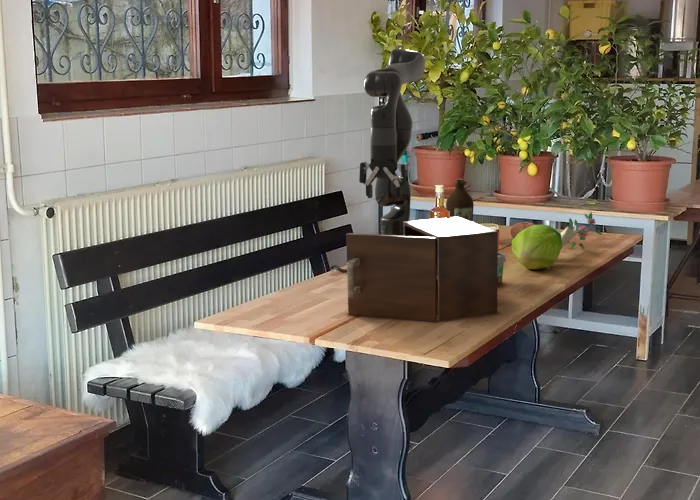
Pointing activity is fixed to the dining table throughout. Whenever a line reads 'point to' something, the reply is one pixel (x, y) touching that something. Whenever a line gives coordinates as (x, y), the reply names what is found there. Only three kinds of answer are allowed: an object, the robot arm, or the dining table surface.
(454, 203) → the olive oil
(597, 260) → the dining table surface
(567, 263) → the dining table surface
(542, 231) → the lettuce
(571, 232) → the flower vase
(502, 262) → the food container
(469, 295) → the cupboard
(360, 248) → the door
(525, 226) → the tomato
